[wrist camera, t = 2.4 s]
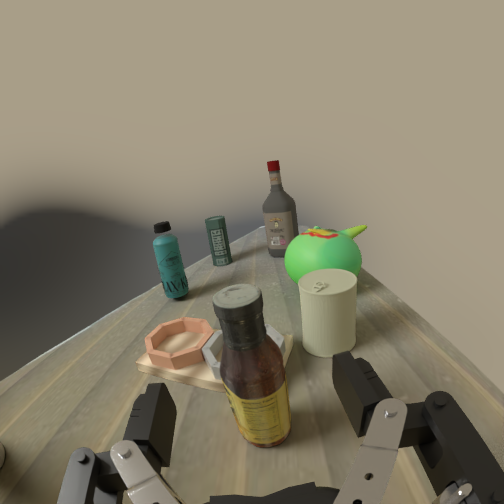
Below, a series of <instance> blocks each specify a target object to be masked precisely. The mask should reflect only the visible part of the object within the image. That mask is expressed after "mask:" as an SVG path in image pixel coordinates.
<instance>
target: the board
mask: <svg viewBox="0 0 504 504" xmlns="http://www.w3.org/2000/svg"><path fill="white" fill-rule="evenodd" d="M212 330H213V331H214V333H215V332H216V331H219V330H217V329H212ZM203 336H204V334H203V333H195V332H188V331H185V332H182V333H179V334H176V335H173V336H169V337H167V338H166V339H165V340H164V341H163V342H162V343H161V344H160V345H159V346H158V347H157V348H156V349H155V350H158V351H162V352H167V353H175V352H179V351H182V350H185V349H188V348H191V347H194V346H196V345H197V344H198V342H199V341H200V340H201V339H202V338H203ZM282 336H283V337H284V340H285V349H286V351H285V353H284V356H283V366H284V368H285V366H286V363H287V360H288V358H289V355H290V352H291V350H292V347H293V335H282ZM222 349H223V347H222V348H221V350H220V351H219V352H218V354H217V355H216V357H215V359H216V360H217V362H220V361H221V355H222ZM135 363H136V365H137V367H138V369H139V371H141V372H145V373H148V374H151V375H155V376H158V377H161V378H165V379H169V380H172V381H176V382H180V383H184V384H188V385H192V386H196V387H200V388H205V389H209V390H214V391H219V392H224V393H226V391H225V388H224V385H223V382H222V380H219V379H215V378H214V376H213V374H212V372H211V370H210V369H209V367H208V365H207V363H206V361H205V360H204V361H202V362H199V363H196V364H193V365H190V366H187V367H184V368H181V369H178V370H172V369H168V368H164V367H160V366H157V365H153V364H152V362H151V360H150V358H149V355H148V353H147V351H146V352H145V353H144V354H143V355H142V356H141V357H140V358H139V359H138V360H137V361H136V362H135Z"/></svg>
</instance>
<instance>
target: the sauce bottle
mask: <svg viewBox="0 0 504 504" xmlns="http://www.w3.org/2000/svg"><path fill="white" fill-rule="evenodd" d="M213 306H214V312H215V314H216V316H217V317H218V318H219V321H220V326H221V329H222V333H223V336H222V337H223V341H224V343H223V349H222V355H221V361H220V368H219V371H220V376H221V379H222V382H223V385H224V388H225V391H226V394H227V397H228V399H229V402H230V405H231V408H232V411H233V414H234V416H235V419H236V422H237V425H238V427H239V430H240V432H241V434H242V435H243V437H244V439H246V440H247V441H248V442H249V443H251V444H253V445H255V446H257V447H271V446H275V445H278V444H280V443H282V442H283V441H284V440H285V439H286V437H287V436H288V434H289V432H290V430H291V413H290V405H289V396H288V388H287V380H286V372H285V368H284V366H283V356H282V353H281V350H280V348H279V346H278V345H277V344H276V343H275V341H273V339H272V338H271V337H270V336H269V335H267V333H266V332H267V330H266V327H265V324H264V318H263V312H262V311H263V298H262V293H261V290H260V289H259V288H258V287H256V286H255V285H252V284H237V285H231V286H228V287H226V288H224V289H222V290H220V291H218V292H217V293H216V294H215V295H214V297H213Z"/></svg>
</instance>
